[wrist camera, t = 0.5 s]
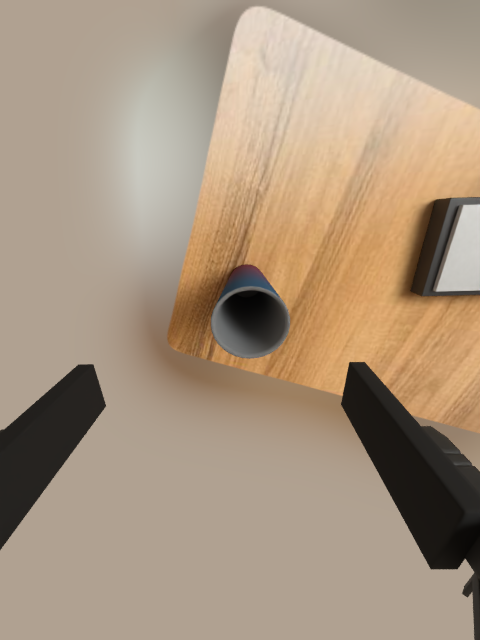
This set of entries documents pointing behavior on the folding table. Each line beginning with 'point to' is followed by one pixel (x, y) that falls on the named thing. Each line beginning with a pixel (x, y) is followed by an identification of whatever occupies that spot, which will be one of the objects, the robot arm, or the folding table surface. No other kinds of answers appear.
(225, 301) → the cup
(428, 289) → the scale
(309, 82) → the folding table surface
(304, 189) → the folding table surface
